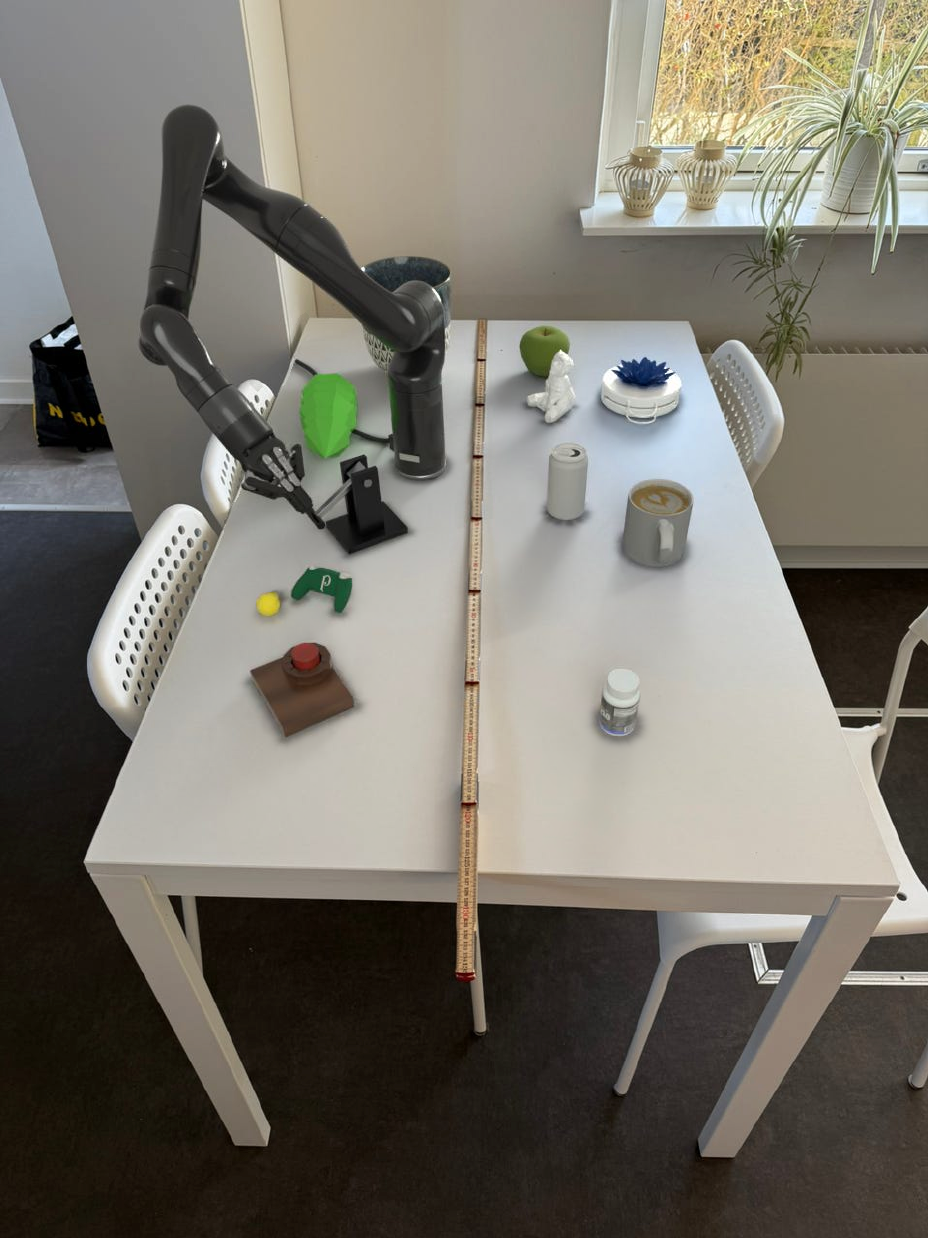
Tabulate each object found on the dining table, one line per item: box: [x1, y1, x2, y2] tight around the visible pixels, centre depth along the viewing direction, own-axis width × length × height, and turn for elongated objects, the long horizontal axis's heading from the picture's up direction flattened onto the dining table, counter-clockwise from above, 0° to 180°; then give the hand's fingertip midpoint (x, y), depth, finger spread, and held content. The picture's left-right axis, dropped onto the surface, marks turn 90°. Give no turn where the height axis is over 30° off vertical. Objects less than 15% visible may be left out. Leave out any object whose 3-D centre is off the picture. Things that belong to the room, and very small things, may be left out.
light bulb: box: [255, 589, 281, 617], centre depth 130 cm, size 3×6×4 cm, turn 175°
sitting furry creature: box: [526, 350, 577, 424], centre depth 169 cm, size 10×9×12 cm
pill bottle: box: [598, 668, 641, 737], centre depth 110 cm, size 5×5×8 cm
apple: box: [519, 325, 571, 378], centre depth 182 cm, size 11×10×10 cm
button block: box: [249, 642, 355, 738], centre depth 117 cm, size 12×10×4 cm
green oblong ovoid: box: [298, 372, 358, 460], centre depth 162 cm, size 11×12×30 cm
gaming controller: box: [290, 563, 353, 614], centre depth 132 cm, size 9×4×6 cm
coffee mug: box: [621, 478, 694, 568], centre depth 135 cm, size 13×10×10 cm
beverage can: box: [546, 442, 589, 521], centre depth 143 cm, size 6×6×12 cm
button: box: [291, 642, 320, 670], centre depth 117 cm, size 4×4×2 cm
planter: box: [360, 255, 453, 374], centre depth 179 cm, size 20×20×21 cm
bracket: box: [325, 454, 409, 555], centre depth 141 cm, size 11×9×13 cm
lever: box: [305, 462, 366, 530], centre depth 138 cm, size 12×5×2 cm
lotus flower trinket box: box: [600, 356, 682, 425], centre depth 172 cm, size 7×16×20 cm
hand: (308, 509), depth 137 cm, fingers closed
